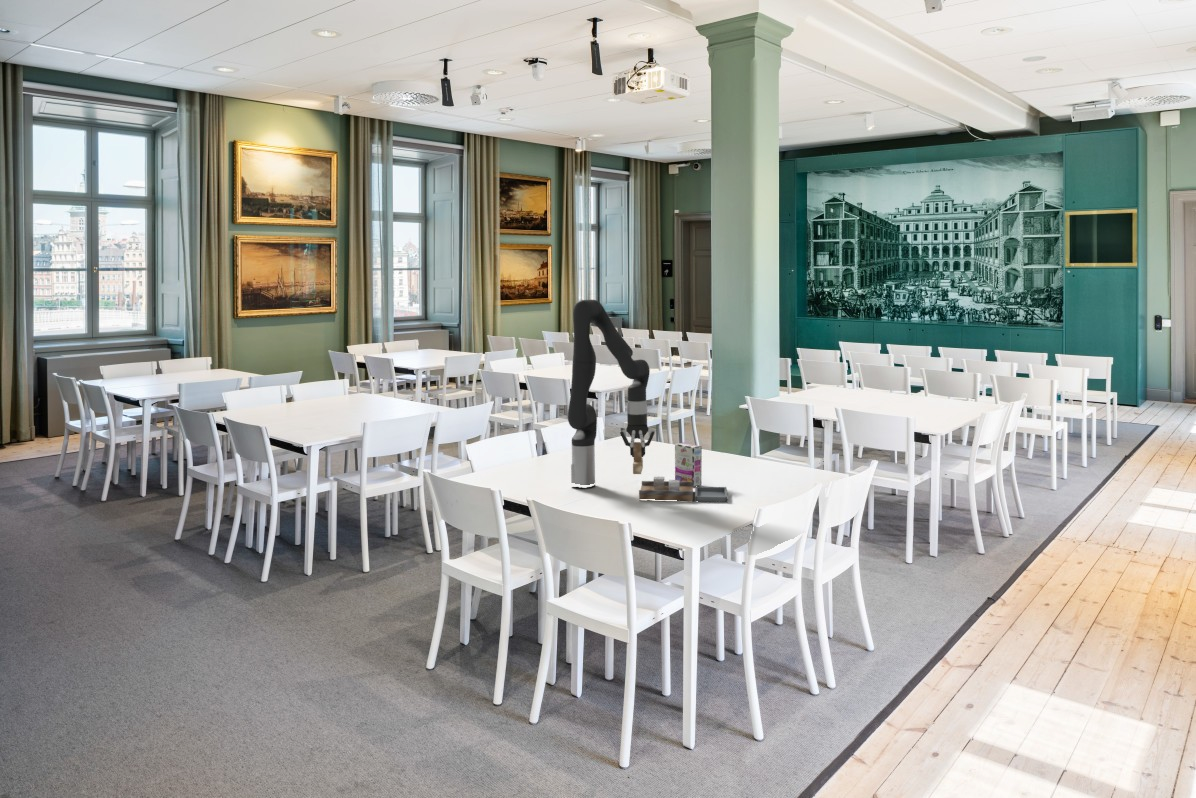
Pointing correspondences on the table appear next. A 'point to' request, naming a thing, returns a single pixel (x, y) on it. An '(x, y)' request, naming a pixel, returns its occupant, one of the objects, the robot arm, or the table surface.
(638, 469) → the tan stepped block
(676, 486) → the gray cube
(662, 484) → the grey cube
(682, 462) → the candy bar box
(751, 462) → the table surface
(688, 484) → the slot board
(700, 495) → the tray
